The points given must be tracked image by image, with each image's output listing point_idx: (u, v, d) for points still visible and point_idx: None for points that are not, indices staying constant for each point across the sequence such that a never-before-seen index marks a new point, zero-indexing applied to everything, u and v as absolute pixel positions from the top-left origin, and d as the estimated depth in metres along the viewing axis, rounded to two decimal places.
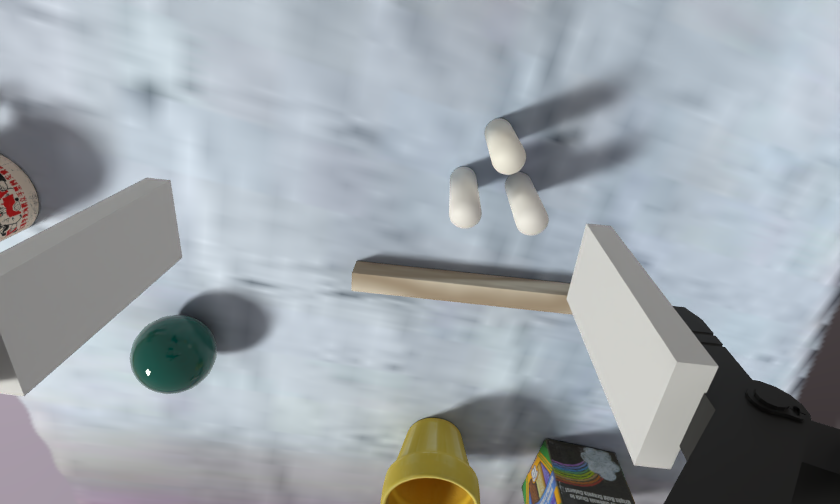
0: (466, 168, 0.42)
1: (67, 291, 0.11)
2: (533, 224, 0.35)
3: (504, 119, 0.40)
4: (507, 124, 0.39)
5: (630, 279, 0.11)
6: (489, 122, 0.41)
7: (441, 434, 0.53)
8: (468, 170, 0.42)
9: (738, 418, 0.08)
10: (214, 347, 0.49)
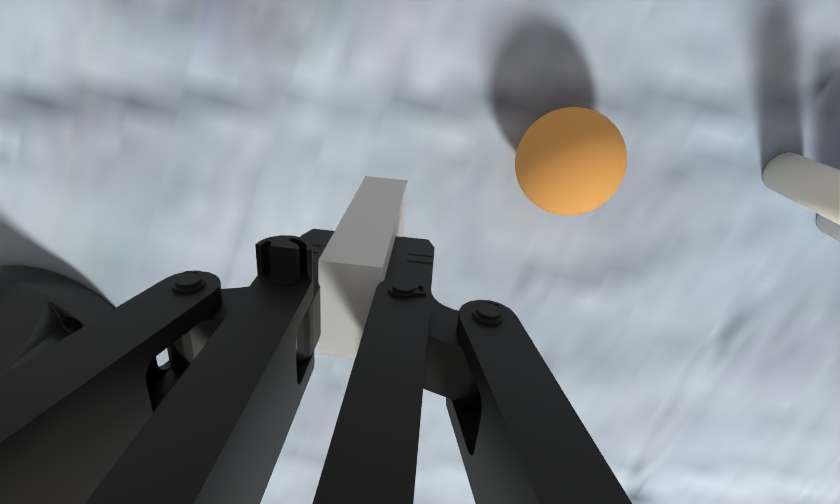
0: None
1: None
2: None
3: (767, 165, 0.29)
4: (789, 173, 0.27)
5: (378, 215, 0.14)
6: (765, 184, 0.30)
7: None
8: None
9: (385, 310, 0.09)
10: None
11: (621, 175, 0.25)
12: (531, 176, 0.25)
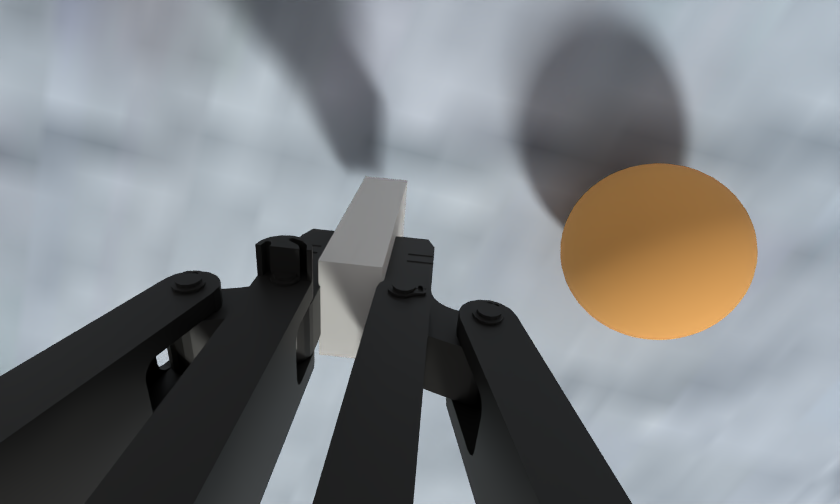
0: None
1: None
2: None
3: None
4: None
5: (378, 215, 0.14)
6: None
7: None
8: None
9: (385, 310, 0.09)
10: None
11: (749, 284, 0.15)
12: (595, 283, 0.15)
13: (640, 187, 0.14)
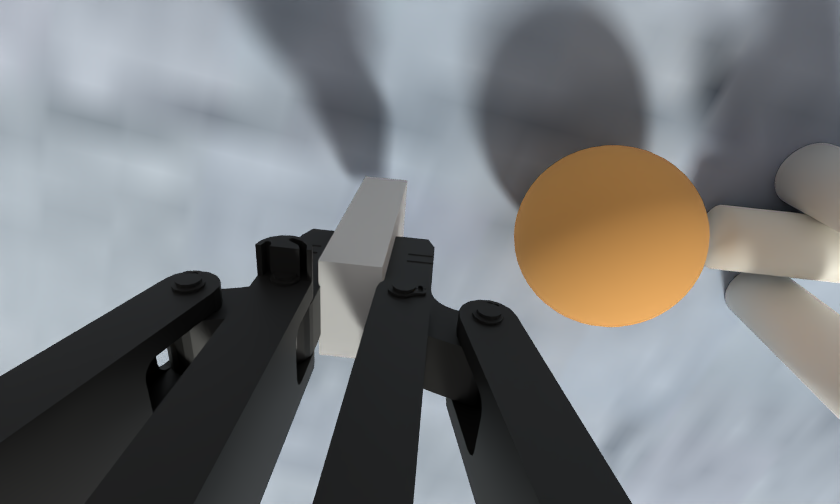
0: (735, 291, 0.19)
1: None
2: None
3: (739, 236, 0.16)
4: (798, 241, 0.16)
5: (378, 215, 0.14)
6: (723, 266, 0.17)
7: None
8: (743, 293, 0.19)
9: (385, 310, 0.09)
10: None
11: None
12: None
13: None
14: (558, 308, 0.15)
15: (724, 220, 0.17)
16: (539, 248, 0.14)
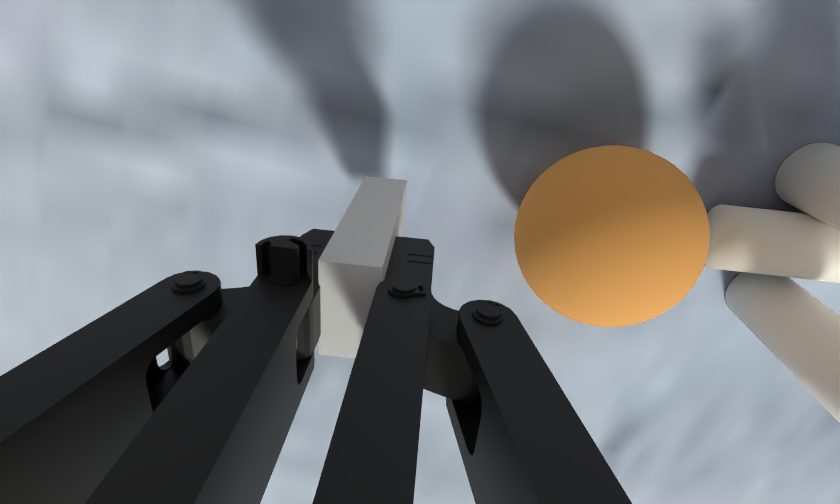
0: (734, 292, 0.19)
1: None
2: None
3: (739, 235, 0.16)
4: (798, 240, 0.16)
5: (378, 215, 0.14)
6: (723, 266, 0.17)
7: None
8: (743, 294, 0.19)
9: (385, 310, 0.09)
10: None
11: None
12: None
13: None
14: (558, 308, 0.15)
15: (724, 220, 0.17)
16: (539, 248, 0.14)
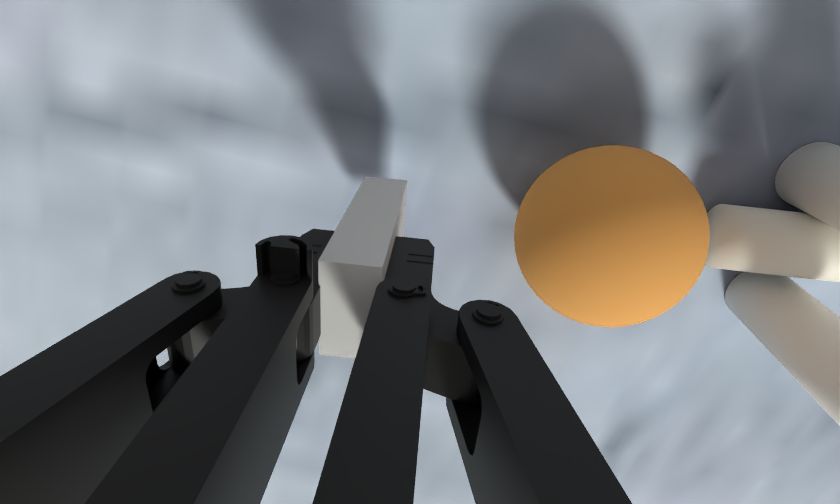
0: (734, 292, 0.19)
1: None
2: None
3: (740, 234, 0.16)
4: (798, 239, 0.16)
5: (378, 215, 0.14)
6: (724, 265, 0.17)
7: None
8: (743, 294, 0.19)
9: (385, 310, 0.09)
10: None
11: None
12: None
13: None
14: (558, 308, 0.15)
15: (724, 219, 0.17)
16: (539, 248, 0.14)
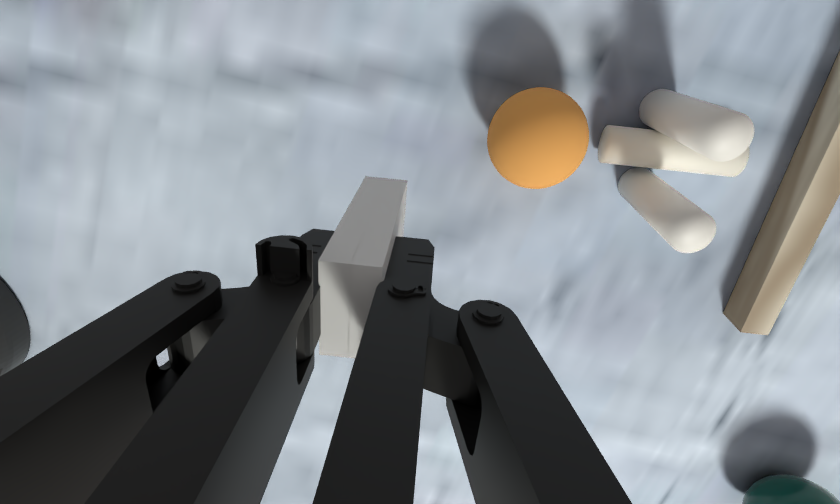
0: (621, 182, 0.32)
1: None
2: (734, 134, 0.23)
3: (613, 138, 0.29)
4: (646, 141, 0.29)
5: (378, 215, 0.14)
6: (607, 158, 0.30)
7: None
8: (624, 182, 0.32)
9: (385, 310, 0.09)
10: (802, 485, 0.40)
11: None
12: None
13: None
14: (510, 175, 0.28)
15: (607, 133, 0.30)
16: (498, 140, 0.27)
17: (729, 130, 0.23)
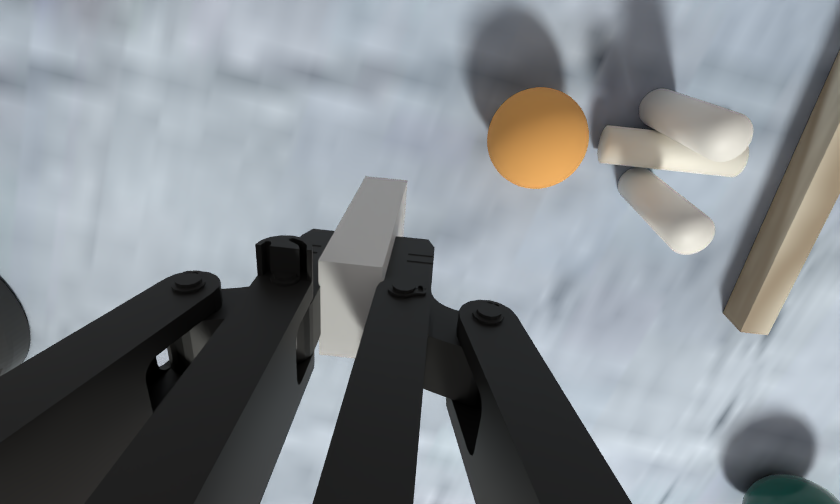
0: (621, 182, 0.32)
1: None
2: (733, 134, 0.23)
3: (613, 139, 0.29)
4: (645, 142, 0.29)
5: (378, 215, 0.14)
6: (607, 159, 0.30)
7: None
8: (624, 182, 0.32)
9: (385, 310, 0.09)
10: (802, 485, 0.40)
11: None
12: None
13: None
14: (510, 175, 0.28)
15: (607, 133, 0.30)
16: (498, 140, 0.27)
17: (728, 130, 0.23)
